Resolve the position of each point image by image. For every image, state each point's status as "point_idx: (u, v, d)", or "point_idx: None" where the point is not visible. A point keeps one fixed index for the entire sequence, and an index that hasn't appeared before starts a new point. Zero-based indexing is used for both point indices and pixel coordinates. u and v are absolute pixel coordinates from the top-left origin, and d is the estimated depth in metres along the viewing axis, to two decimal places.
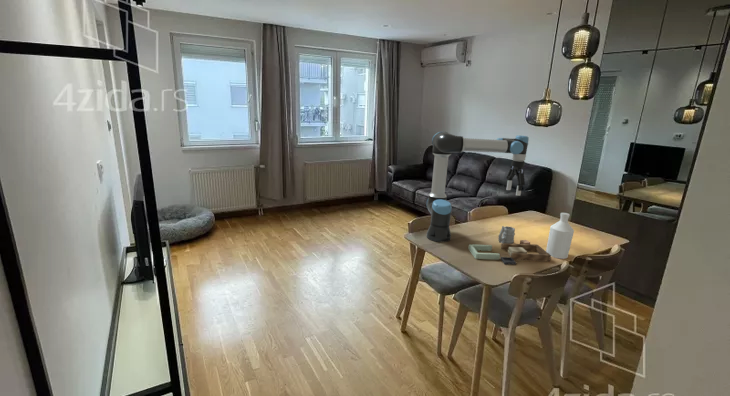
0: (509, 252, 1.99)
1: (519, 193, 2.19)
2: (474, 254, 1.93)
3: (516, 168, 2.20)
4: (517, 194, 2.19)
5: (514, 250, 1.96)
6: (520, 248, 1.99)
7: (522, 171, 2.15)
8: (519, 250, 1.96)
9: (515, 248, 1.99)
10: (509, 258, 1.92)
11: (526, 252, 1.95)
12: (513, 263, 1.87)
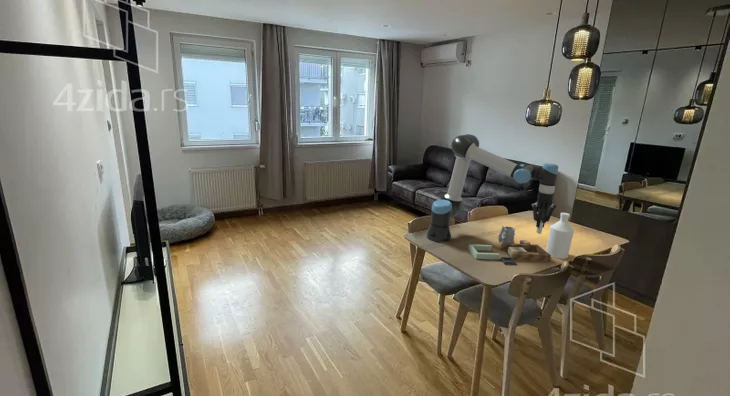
0: (509, 252, 1.99)
1: None
2: (474, 254, 1.93)
3: None
4: None
5: (514, 250, 1.96)
6: (520, 248, 1.99)
7: None
8: (519, 250, 1.96)
9: (515, 248, 1.99)
10: (509, 258, 1.92)
11: (526, 252, 1.95)
12: (513, 263, 1.87)
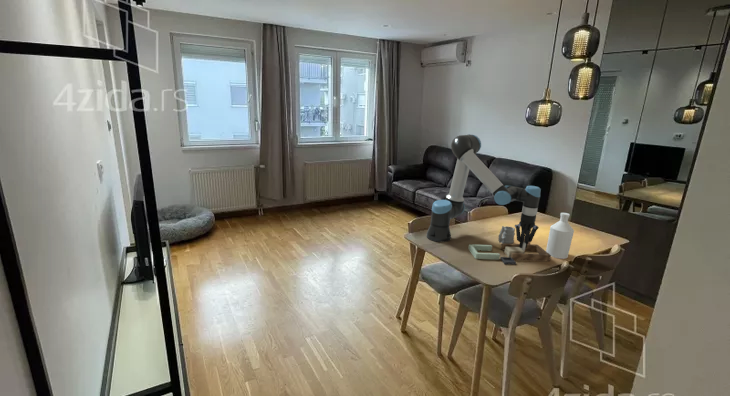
0: (506, 252, 1.99)
1: None
2: (474, 254, 1.93)
3: (532, 221, 1.92)
4: None
5: (511, 250, 1.96)
6: (517, 248, 1.99)
7: None
8: (516, 250, 1.96)
9: (512, 248, 1.98)
10: (509, 258, 1.92)
11: (523, 252, 1.95)
12: (513, 263, 1.87)
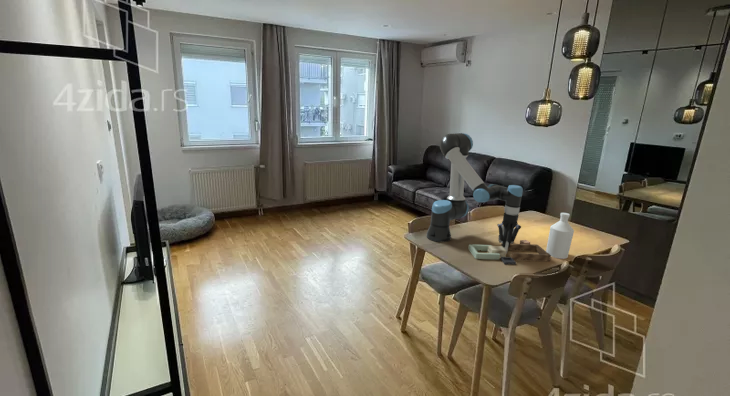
0: (489, 251, 1.99)
1: None
2: (474, 254, 1.93)
3: None
4: None
5: (493, 249, 1.96)
6: (500, 247, 1.99)
7: None
8: (498, 249, 1.96)
9: (495, 247, 1.98)
10: (509, 258, 1.92)
11: (505, 251, 1.95)
12: (513, 263, 1.87)
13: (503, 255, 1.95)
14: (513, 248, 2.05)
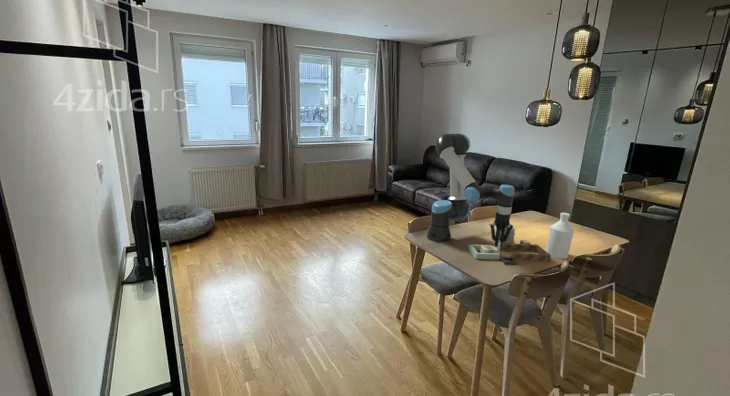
0: (481, 251, 1.99)
1: None
2: (474, 254, 1.93)
3: (506, 220, 1.92)
4: None
5: (485, 249, 1.95)
6: (492, 247, 1.98)
7: None
8: (491, 249, 1.96)
9: (487, 247, 1.98)
10: (509, 258, 1.92)
11: (497, 251, 1.95)
12: (513, 263, 1.87)
13: None
14: (513, 248, 2.05)
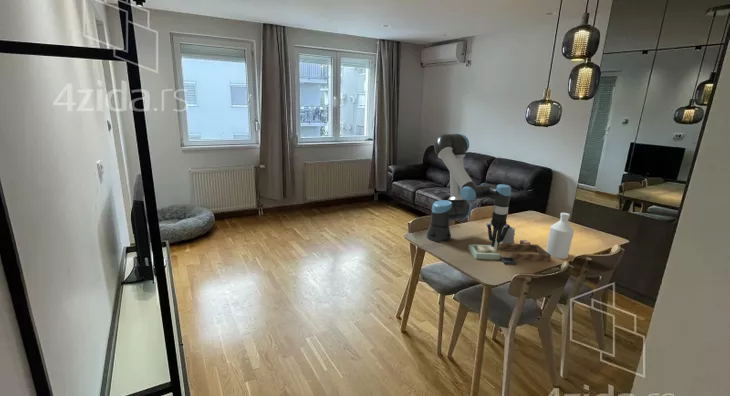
0: (478, 251, 1.99)
1: None
2: (474, 254, 1.93)
3: None
4: None
5: (482, 249, 1.95)
6: (489, 247, 1.98)
7: None
8: (487, 249, 1.96)
9: (484, 247, 1.98)
10: (509, 258, 1.92)
11: (494, 251, 1.95)
12: (513, 263, 1.87)
13: None
14: (513, 248, 2.05)
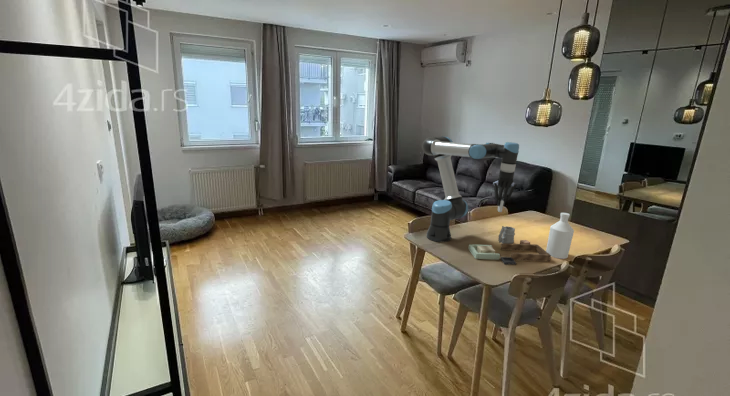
0: (478, 251, 1.99)
1: None
2: (474, 254, 1.93)
3: None
4: None
5: (482, 249, 1.95)
6: (488, 247, 1.99)
7: None
8: (487, 249, 1.96)
9: (483, 247, 1.98)
10: (509, 258, 1.92)
11: (494, 251, 1.95)
12: (513, 263, 1.87)
13: None
14: (513, 248, 2.05)
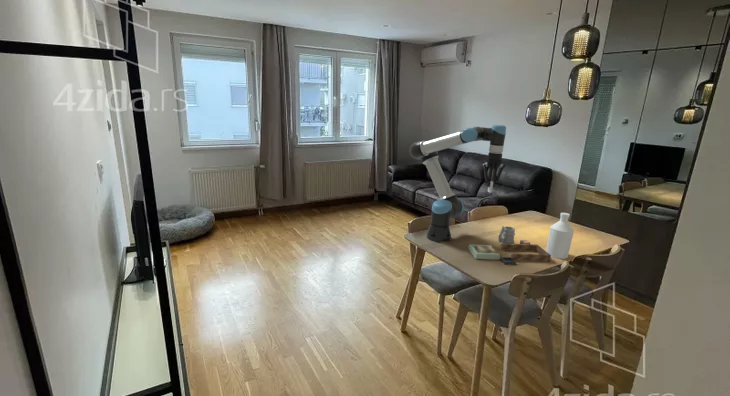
0: (478, 251, 1.98)
1: None
2: (474, 254, 1.93)
3: None
4: None
5: (482, 249, 1.95)
6: (488, 247, 1.99)
7: None
8: (487, 249, 1.96)
9: (483, 247, 1.98)
10: (509, 258, 1.92)
11: (494, 251, 1.95)
12: (513, 263, 1.87)
13: None
14: (513, 248, 2.05)
